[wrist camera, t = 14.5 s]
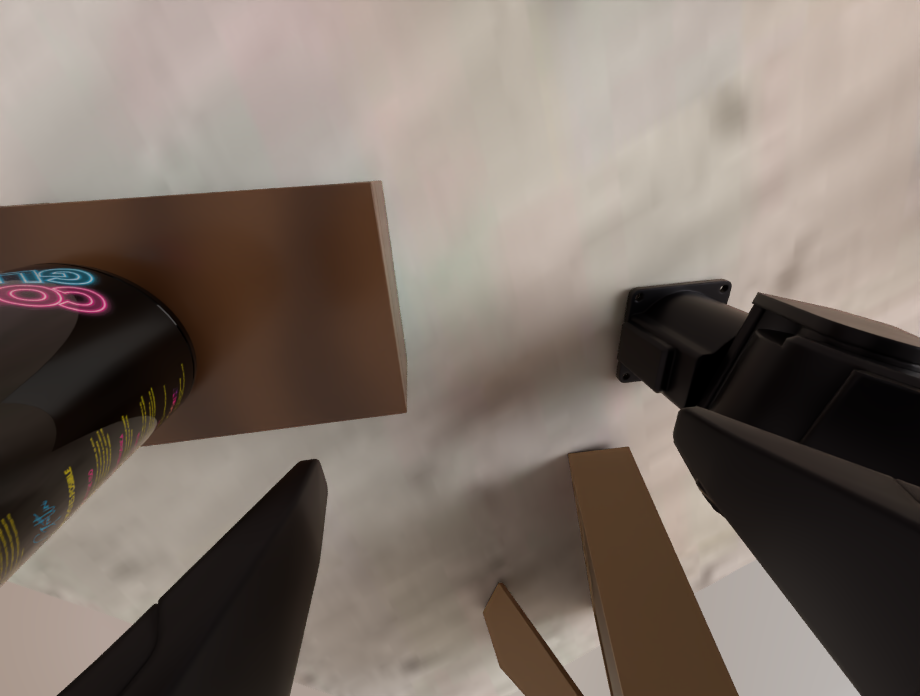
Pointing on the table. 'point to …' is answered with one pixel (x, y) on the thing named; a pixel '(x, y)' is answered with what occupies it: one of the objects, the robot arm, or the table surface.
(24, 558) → the supplement container
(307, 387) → the shelf
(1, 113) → the table surface
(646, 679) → the photo frame
